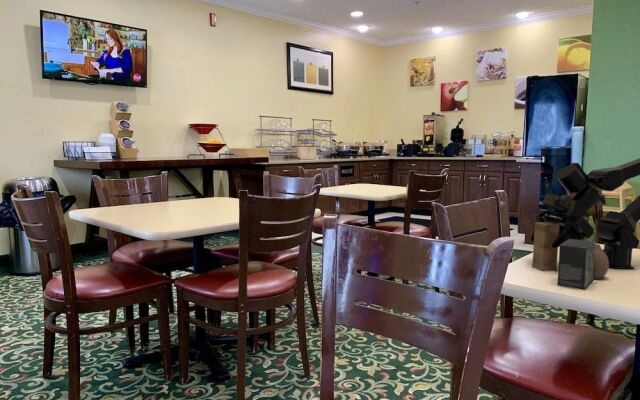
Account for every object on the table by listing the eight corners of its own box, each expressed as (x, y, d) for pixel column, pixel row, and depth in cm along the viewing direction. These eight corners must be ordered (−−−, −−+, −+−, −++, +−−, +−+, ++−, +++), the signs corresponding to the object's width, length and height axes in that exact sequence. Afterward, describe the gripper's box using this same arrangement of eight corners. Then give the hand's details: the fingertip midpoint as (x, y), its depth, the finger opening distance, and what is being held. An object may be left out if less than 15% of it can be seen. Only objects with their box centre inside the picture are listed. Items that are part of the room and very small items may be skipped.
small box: (565, 276, 123) (568, 237, 122) (593, 281, 119) (596, 241, 118) (555, 285, 115) (558, 243, 114) (585, 290, 111) (588, 247, 110)
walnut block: (546, 266, 134) (549, 222, 132) (556, 270, 129) (559, 224, 128) (532, 267, 133) (535, 222, 132) (542, 271, 129) (545, 224, 127)
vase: (573, 273, 127) (575, 241, 126) (600, 274, 126) (603, 242, 125) (584, 280, 120) (586, 246, 119) (612, 281, 119) (615, 247, 118)
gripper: (541, 181, 139) (505, 219, 138) (587, 186, 120) (546, 229, 119) (563, 208, 141) (527, 244, 140) (611, 216, 122) (571, 258, 122)
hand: (541, 243), depth 130 cm, fingers open, 9 cm apart
